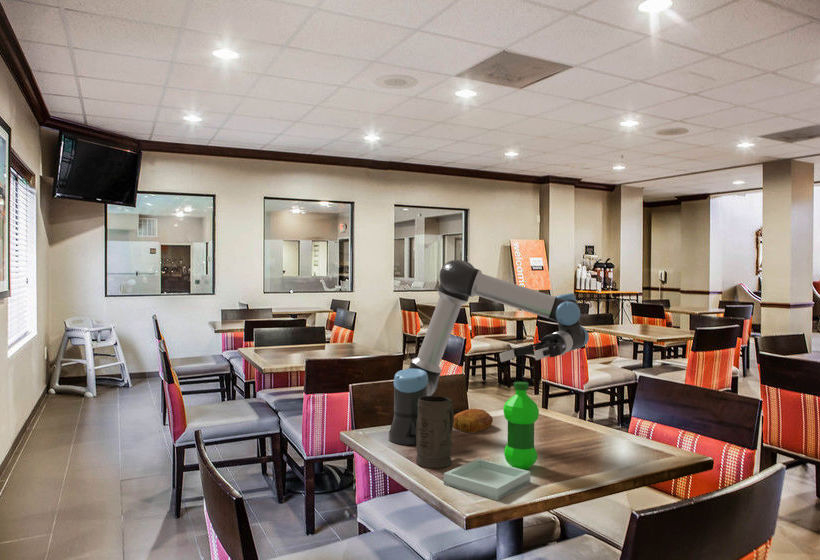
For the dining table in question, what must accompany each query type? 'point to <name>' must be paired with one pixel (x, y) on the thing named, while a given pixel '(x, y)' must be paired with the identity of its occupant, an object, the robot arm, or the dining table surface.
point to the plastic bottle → (520, 428)
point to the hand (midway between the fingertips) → (517, 356)
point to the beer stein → (434, 431)
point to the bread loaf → (472, 420)
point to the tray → (487, 478)
